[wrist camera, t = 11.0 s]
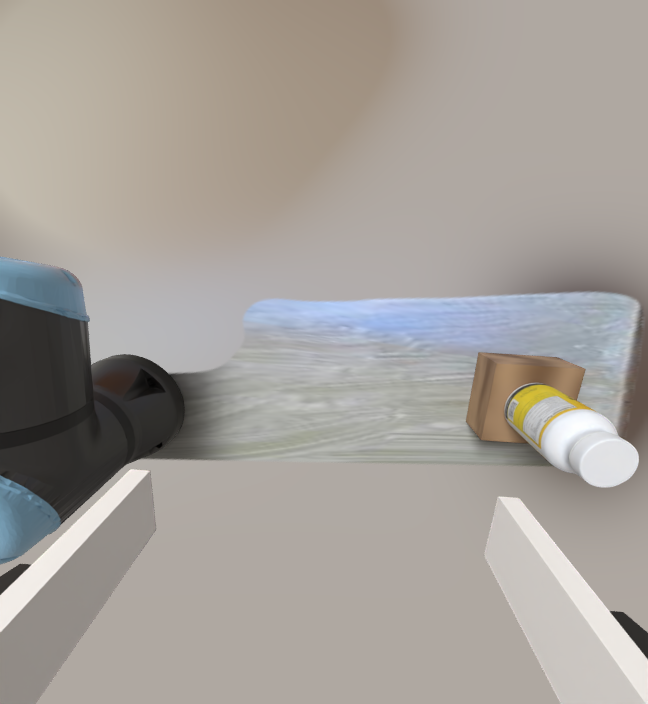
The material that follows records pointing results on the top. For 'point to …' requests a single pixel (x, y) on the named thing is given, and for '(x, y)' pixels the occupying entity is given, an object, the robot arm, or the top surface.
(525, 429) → the pill bottle
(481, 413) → the walnut block
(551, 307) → the top surface
